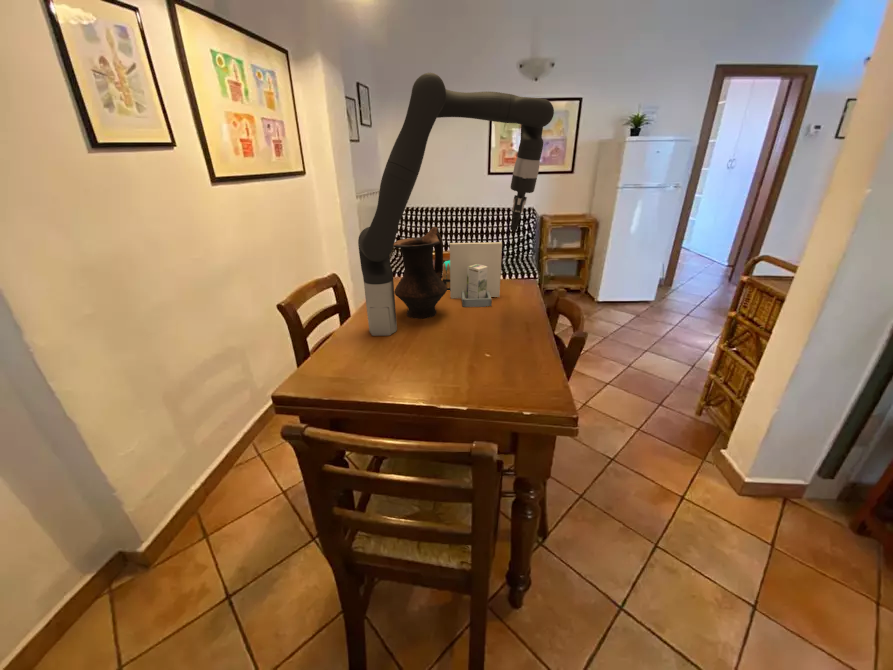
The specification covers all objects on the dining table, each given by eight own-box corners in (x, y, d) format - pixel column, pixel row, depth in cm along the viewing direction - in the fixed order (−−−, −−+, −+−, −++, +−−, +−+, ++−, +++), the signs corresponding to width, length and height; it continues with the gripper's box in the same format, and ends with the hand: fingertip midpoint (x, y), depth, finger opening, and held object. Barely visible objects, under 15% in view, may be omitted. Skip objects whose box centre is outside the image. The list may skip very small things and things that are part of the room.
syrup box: (474, 298, 151) (475, 263, 145) (486, 301, 148) (487, 265, 141) (466, 302, 147) (466, 266, 141) (477, 305, 144) (478, 268, 138)
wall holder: (503, 306, 143) (506, 248, 133) (451, 307, 143) (450, 249, 133) (498, 296, 153) (501, 242, 144) (450, 296, 153) (449, 243, 144)
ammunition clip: (442, 290, 161) (441, 263, 156) (442, 289, 163) (442, 262, 158) (466, 291, 160) (466, 264, 154) (467, 290, 161) (467, 262, 156)
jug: (424, 329, 124) (420, 238, 111) (385, 317, 134) (378, 232, 121) (461, 310, 139) (461, 228, 126) (423, 301, 149) (420, 224, 137)
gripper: (514, 169, 121) (505, 219, 130) (511, 176, 109) (501, 230, 118) (537, 173, 120) (526, 223, 129) (536, 180, 108) (524, 234, 117)
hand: (514, 226), depth 123 cm, fingers open, 8 cm apart
